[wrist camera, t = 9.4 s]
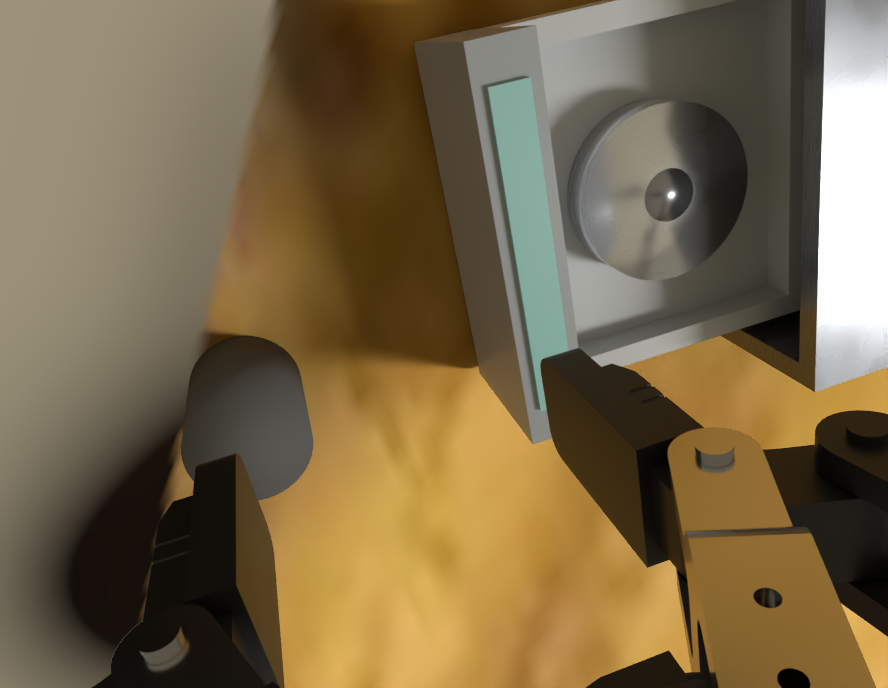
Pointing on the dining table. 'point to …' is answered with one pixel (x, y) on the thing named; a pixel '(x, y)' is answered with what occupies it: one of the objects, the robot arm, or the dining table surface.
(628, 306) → the tray
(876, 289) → the housing
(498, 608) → the dining table surface
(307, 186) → the dining table surface
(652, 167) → the disc
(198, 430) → the capsule
